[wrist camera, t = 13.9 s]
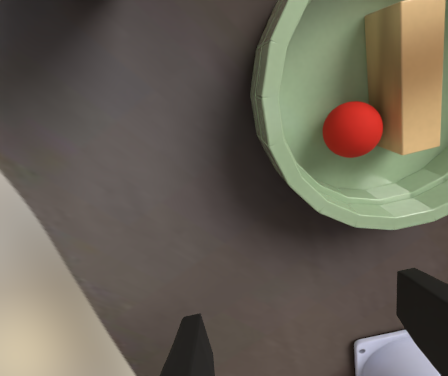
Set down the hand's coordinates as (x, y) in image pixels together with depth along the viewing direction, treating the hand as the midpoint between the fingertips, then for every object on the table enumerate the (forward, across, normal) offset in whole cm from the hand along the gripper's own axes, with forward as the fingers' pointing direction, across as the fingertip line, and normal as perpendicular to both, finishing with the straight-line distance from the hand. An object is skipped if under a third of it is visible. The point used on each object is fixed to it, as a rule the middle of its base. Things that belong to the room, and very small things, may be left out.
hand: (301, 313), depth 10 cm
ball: (+7, -6, -4) cm, 10 cm away
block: (+9, -8, -6) cm, 14 cm away
